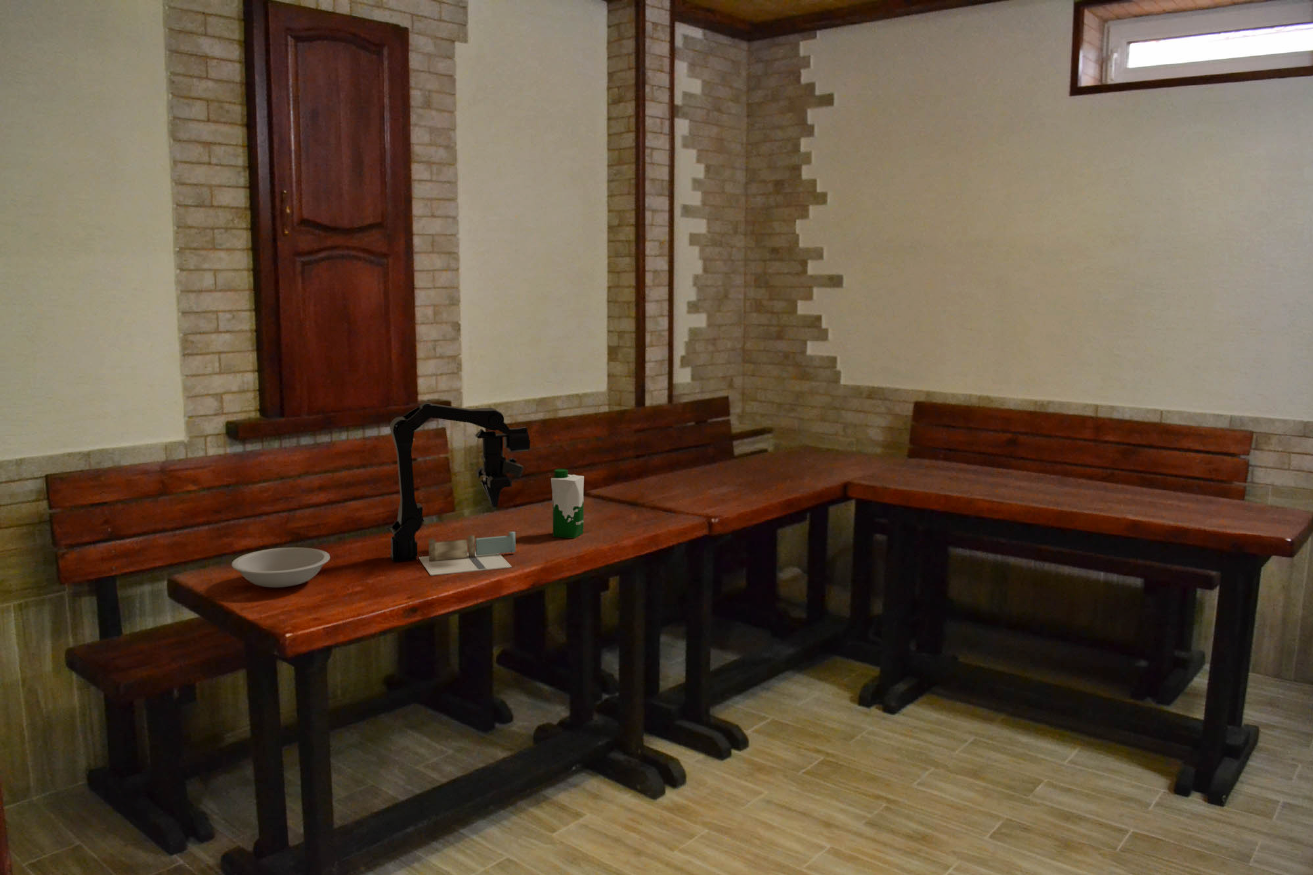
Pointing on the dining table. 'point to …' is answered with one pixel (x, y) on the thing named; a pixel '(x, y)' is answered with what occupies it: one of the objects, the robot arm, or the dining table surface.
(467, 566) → the card
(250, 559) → the soup bowl
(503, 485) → the robot arm
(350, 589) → the dining table surface
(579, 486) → the milk carton
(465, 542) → the fence fixed
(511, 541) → the fence flap
